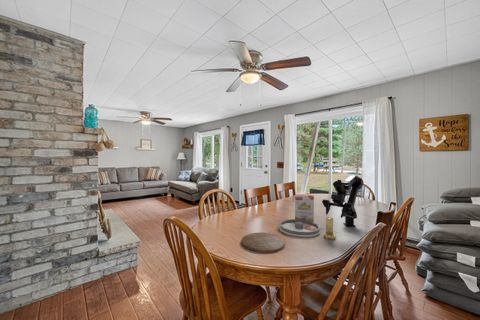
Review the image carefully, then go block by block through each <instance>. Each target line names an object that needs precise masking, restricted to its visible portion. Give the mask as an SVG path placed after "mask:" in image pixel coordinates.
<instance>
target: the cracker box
mask: <svg viewBox="0 0 480 320" xmlns="http://www.w3.org/2000/svg"><path fill="white" fill-rule="evenodd" d="M294 195H295V196H294V199H295V200H294V219H299V220H306V221H310V222H314V221H315V219H314V214H315V211H314V210H315V208H314V207H315V204H314V203H315V196H314V195H313V194H305V193H304V194H302V193H295V194H294ZM314 223H315V222H314Z"/></svg>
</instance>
